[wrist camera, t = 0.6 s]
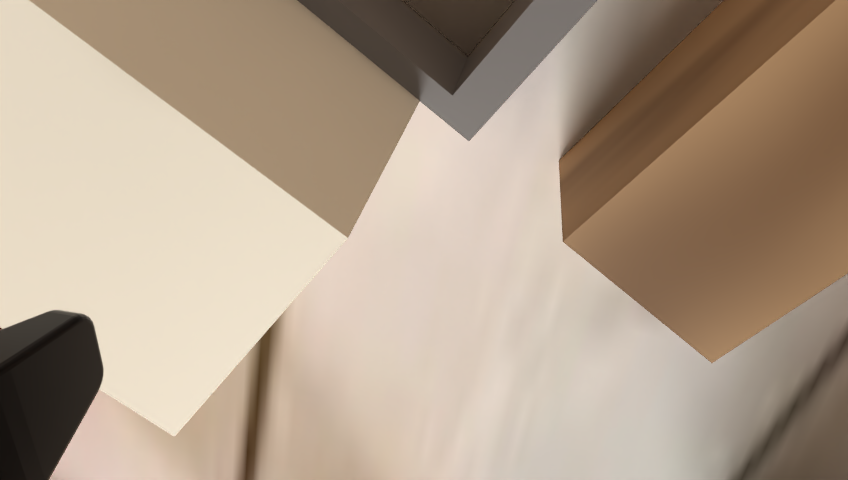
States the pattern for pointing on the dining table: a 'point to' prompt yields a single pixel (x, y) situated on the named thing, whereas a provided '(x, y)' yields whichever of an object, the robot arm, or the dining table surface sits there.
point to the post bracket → (214, 161)
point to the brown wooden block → (723, 174)
